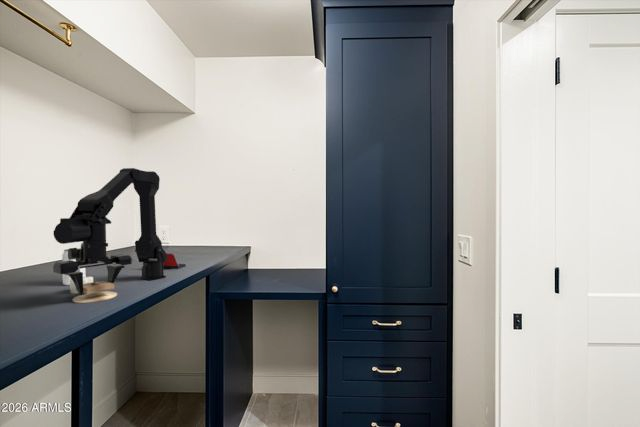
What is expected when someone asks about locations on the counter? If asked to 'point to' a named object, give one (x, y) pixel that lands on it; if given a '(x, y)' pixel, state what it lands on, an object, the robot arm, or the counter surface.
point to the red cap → (172, 263)
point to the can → (66, 277)
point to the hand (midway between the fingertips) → (95, 292)
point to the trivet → (94, 297)
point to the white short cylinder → (85, 281)
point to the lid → (97, 287)
